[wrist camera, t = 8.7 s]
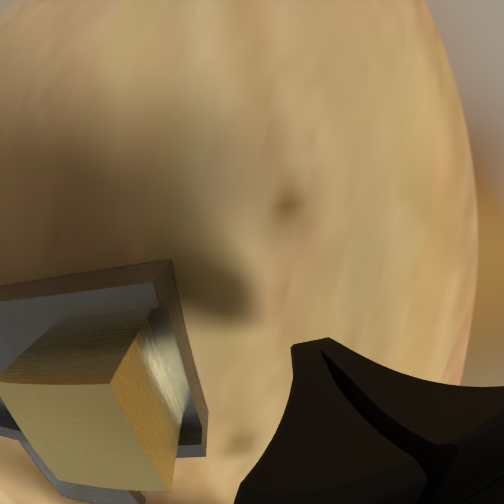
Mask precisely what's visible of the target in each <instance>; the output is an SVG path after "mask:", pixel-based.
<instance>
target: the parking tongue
mask: <svg viewBox="0 0 504 504" xmlns="http://www.w3.org/2000/svg"><path fill="white" fill-rule="evenodd" d="M19 442H20V443H21V445H22V446H23V448H24V449H25V450H26V452H27V453H28V455H29V456H30V457H31V459H32V460H33V461H34V463H35V464H36V465H37V467H38V468H39V469H40V470H41V472H42V473H43V474H44V475H45V477H46V478H47V479H48V480H49V481H50V483H51V484H52V485H53V486H54V487H55V488H56V489H57V491H58V492H59V493H60V494H61V495H62V496H63V497H67V498H71V499H76V500H80V501H85V502H90V503H95V504H145V501H146V500H145V498H144V497H143V496H142V494H141V493H140V491H134V490H121V489H111V488H103V487H95V486H88V485H82V484H76V483H70V482H65V481H60V480H58V478H57V477H56V476H55V475H54V474H53V472H52V471H51V470H50V469H49V468H48V466H47V465H46V464H45V463H44V461H43V460H42V459H41V457H40V456H39V455H38V453H37V452H36V451H35V449H34V448H33V447H32V445H31V444H30V443H28V442H23V441H19Z"/></svg>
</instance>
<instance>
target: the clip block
mask: <svg viewBox="0 0 504 504" xmlns="http://www.w3.org/2000/svg"><path fill="white" fill-rule="evenodd" d="M0 397H1V398H2V400H3V402H4V404H5V405H6V407H7V409H8V410H9V412H10V414H11V415H12V417H13V419H14V420H15V422H16V423H17V425H18V426H19V428H20V429H21V431H22V432H23V434H24V435H25V437H26V438H27V440H28V441H29V442H30V444H31V445H32V447H33V448H34V449H35V451H36V452H37V453H38V455H39V456H40V457H41V459H42V460H43V461H44V463H45V464H46V465H47V466H48V468H49V469H50V470H51V471H52V472H53V474H54V475H55V476H56V477H57V478H58V480H60V481H65V482H70V483H76V484H82V485H88V486H95V487H103V488H111V489H121V490H134V491H156V492H171V488H172V481H173V474H174V467H175V460H176V454H177V447H178V441H179V435H180V428H181V422H182V416H183V415H182V412H181V410H180V408H179V405H178V403H177V400H176V398H175V395H174V392H173V390H172V387H171V385H170V382H169V379H168V377H167V374H166V371H165V368H164V366H163V363H162V360H161V357H160V354H159V351H158V348H157V345H156V342H155V339H154V336H153V333H152V330H151V327H150V324H149V321H148V317H145V318H138V319H131V320H124V321H116V322H109V323H101V324H93V325H85V326H77V327H68V328H59V329H50V330H47V331H46V332H45V333H44V334H43V335H42V336H40V337H39V338H38V339H37V340H36V341H35V342H34V343H33V344H32V345H30V346H29V347H28V348H27V349H26V350H25V351H24V352H23V353H22V354H21V355H20V356H19V357H17V358H16V359H15V360H14V361H13V362H12V363H11V364H10V365H9V366H8V367H7V368H6V369H5V370H4V371H3V372H2V373H1V374H0Z"/></svg>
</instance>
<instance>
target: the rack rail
mask: <svg viewBox="0 0 504 504" xmlns="http://www.w3.org/2000/svg"><path fill="white" fill-rule="evenodd" d="M145 317H148V321H149V324H150V327H151V330H152V333H153V336H154V339H155V342H156V345H157V348H158V351H159V354H160V357H161V360H162V363H163V366H164V368H165V371H166V374H167V377H168V379H169V382H170V385H171V387H172V390H173V392H174V395H175V398H176V400H177V403H178V405H179V408H180V410H181V412H182V415H183V416H182V422H181V428H180V435H179V441H178V447H177V454H176V458H184V457H206V446H207V428H208V409H207V405H206V402H205V399H204V395H203V392H202V388H201V385H200V381H199V377H198V374H197V370H196V366H195V363H194V359H193V355H192V351H191V347H190V343H189V339H188V335H187V331H186V327H185V323H184V319H183V314H182V310H181V306H180V301H179V296H178V292H177V287H176V282H175V278H174V273H173V268H172V263H171V259H170V260H163V261H157V262H150V263H144V264H137V265H131V266H124V267H118V268H112V269H105V270H99V271H92V272H86V273H80V274H73V275H67V276H61V277H54V278H48V279H42V280H35V281H29V282H23V283H17V284H10V285H4V286H0V374H1V373H2V372H3V371H4V370H5V369H6V368H7V367H8V366H9V365H10V364H11V363H12V362H13V361H14V360H15V359H16V358H17V357H19V356H20V355H21V354H22V353H23V352H24V351H25V350H26V349H27V348H28V347H29V346H30V345H32V344H33V343H34V342H35V341H36V340H37V339H38V338H39V337H40V336H42V335H43V334H44V333H45V332H46V331H47V330H50V329H59V328H68V327H77V326H85V325H93V324H101V323H109V322H116V321H124V320H131V319H138V318H145ZM0 435H1V436H4V437H8V438H12V439H16V440H19V441H23V442H28V443H30V442H29V441H28V440H27V438H26V437H25V435H24V434H23V432H22V431H21V429H20V428H19V426H18V425H17V423H16V422H15V420H14V419H13V417H12V415H11V414H10V412H9V410H8V409H7V407H6V405H5V404H4V402H3V400H2V398H1V397H0Z"/></svg>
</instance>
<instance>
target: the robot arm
mask: <svg viewBox="0 0 504 504" xmlns="http://www.w3.org/2000/svg"><path fill="white" fill-rule="evenodd" d="M291 357H292V368H293V381H292V386H291V391H290V395H289V399H288V402H287V406H286V409H285V411H284V414H283V417H282V419H281V421H280V424H279V426H278V428H277V430H276V432H275V434H274V436H273V438H272V440H271V442H270V443H269V445H268V447H267V448H266V450H265V452H264V453H263V455H262V456H261V458H260V459H259V461H258V462H257V464H256V465H255V466H254V467H253V469H252V470H251V471H250V472H249V474H248V475H247V476H246V477H245V479H244V480H243V481H242V482H241V483H240V486H239V489H238V492H237V495H236V498H235V501H234V504H504V386H500V387H468V386H456V385H448V384H442V383H437V382H432V381H427V380H423V379H419V378H415V377H412V376H409V375H406V374H403V373H400V372H397V371H394V370H392V369H389V368H387V367H385V366H382V365H380V364H378V363H375V362H373V361H371V360H369V359H367V358H365V357H363V356H361V355H360V354H358V353H356V352H354V351H352V350H350V349H349V348H347V347H345V346H343V345H342V344H340V343H338V342H336V341H335V340H333V339H331V338H329V337H328V338H323V339H318V340H313V341H308V342H303V343H298V344H293V346H292V347H291Z"/></svg>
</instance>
